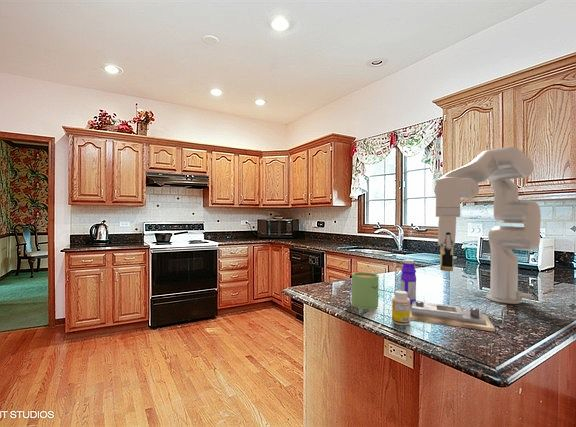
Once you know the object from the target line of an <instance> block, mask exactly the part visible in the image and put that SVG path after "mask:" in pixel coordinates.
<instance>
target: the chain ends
mask: <svg viewBox="0 0 576 427" xmlns="http://www.w3.org/2000/svg"><path fill="white" fill-rule="evenodd" d="M411 306H412V315H419V316H426V317H433V318H440V319H448V320H455V321H462V322H470V323H477V324H484V325H486V320H485V319H484V317H483V315H484V314H482V312H480V308H477V307H470V310H469V311H468V310H462V308H461V306H455V305H447V304H441V303H440V304H438V303H430V302H424V301H417V300H416V302H415V301H413V302H412V304H411Z"/></svg>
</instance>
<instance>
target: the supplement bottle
mask: <svg viewBox="0 0 576 427" xmlns="http://www.w3.org/2000/svg"><path fill="white" fill-rule="evenodd" d="M407 297H408V293H407V292H405V291H401V290H395V291H394V296H393V297H392V300H391V301H392V302H391V304H392V305H391V307H392V308H391V313H392V314H391V317H392V318H391V319H392V322H393V324H396V325H398V326H408V325H410V323H411V319H410V306H411V304H410V299H409V298H407Z"/></svg>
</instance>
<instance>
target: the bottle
mask: <svg viewBox="0 0 576 427" xmlns="http://www.w3.org/2000/svg"><path fill="white" fill-rule="evenodd" d="M416 273H417V270H416V267H415V260H414V259H407V258H406V259H403V265H402V268H401V275H400V280H401V281H400V284H401V285H400V291H405V292H407V293H408V297H407V298H409V299H410V305H412V302H413V301H415V302H417V294H416V293H417V275H416Z"/></svg>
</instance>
